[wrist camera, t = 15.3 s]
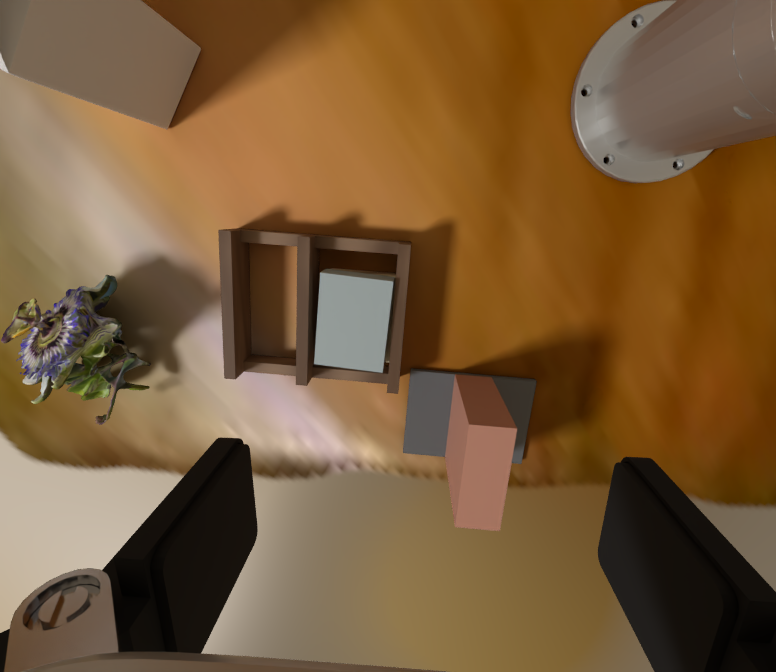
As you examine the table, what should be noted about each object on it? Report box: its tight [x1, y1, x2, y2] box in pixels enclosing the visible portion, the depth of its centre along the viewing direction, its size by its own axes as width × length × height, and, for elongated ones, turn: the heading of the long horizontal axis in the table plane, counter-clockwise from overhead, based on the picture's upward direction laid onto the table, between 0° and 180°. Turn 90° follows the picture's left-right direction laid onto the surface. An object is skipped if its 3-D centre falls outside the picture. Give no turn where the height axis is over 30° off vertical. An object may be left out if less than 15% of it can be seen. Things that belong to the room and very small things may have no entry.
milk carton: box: [0, 0, 201, 129], centre depth 26 cm, size 7×7×19 cm
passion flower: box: [1, 275, 151, 425], centre depth 38 cm, size 11×11×12 cm
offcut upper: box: [314, 269, 395, 373], centre depth 36 cm, size 6×8×2 cm
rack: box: [219, 229, 411, 394], centre depth 38 cm, size 16×13×4 cm
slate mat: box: [403, 368, 537, 464], centre depth 42 cm, size 12×9×1 cm
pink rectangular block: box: [445, 374, 517, 531], centre depth 37 cm, size 4×9×10 cm, turn 176°
